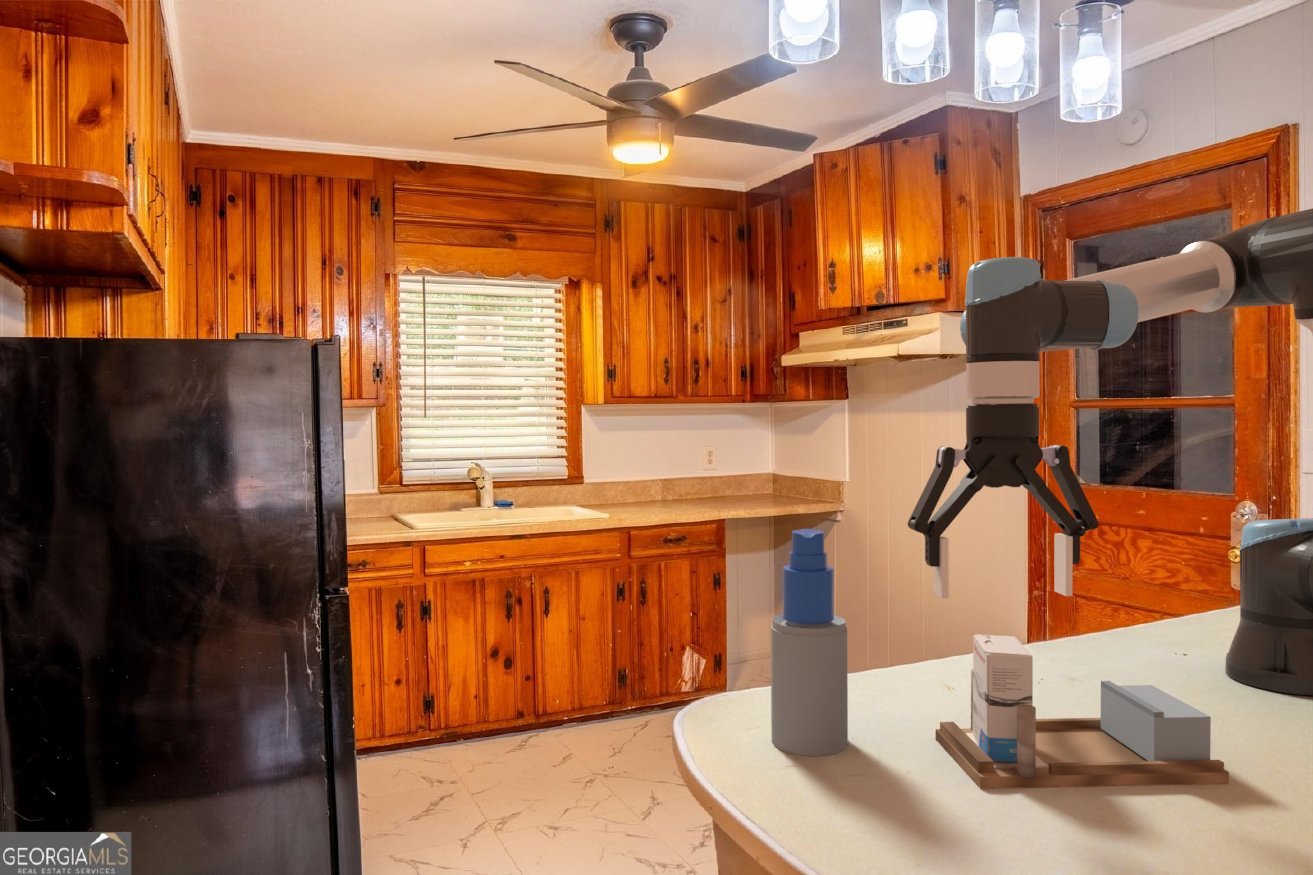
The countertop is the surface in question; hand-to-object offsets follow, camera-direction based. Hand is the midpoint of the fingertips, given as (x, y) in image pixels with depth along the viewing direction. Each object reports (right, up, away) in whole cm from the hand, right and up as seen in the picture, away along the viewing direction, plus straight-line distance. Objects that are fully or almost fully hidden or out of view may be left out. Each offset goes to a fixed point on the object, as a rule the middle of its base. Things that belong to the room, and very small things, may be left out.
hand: (1002, 595), depth 101 cm
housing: (+17, -17, +1) cm, 24 cm away
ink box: (0, -17, +1) cm, 17 cm away
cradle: (+8, -18, +1) cm, 20 cm away
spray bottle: (-20, -19, +7) cm, 28 cm away
